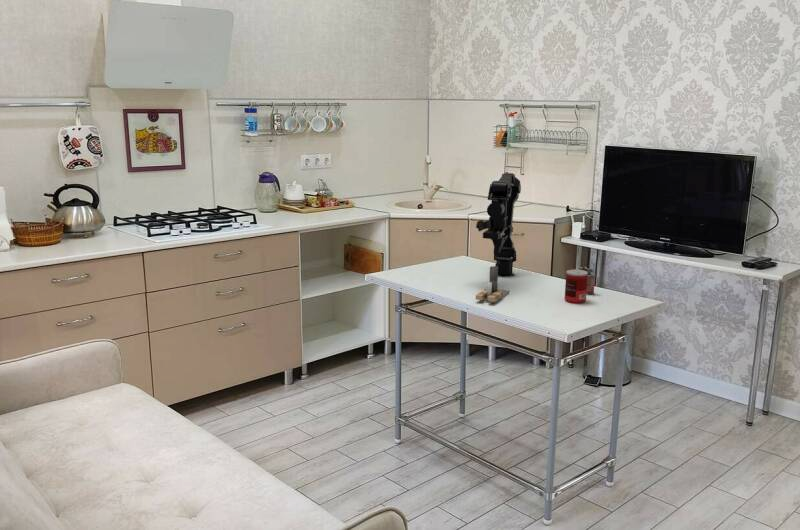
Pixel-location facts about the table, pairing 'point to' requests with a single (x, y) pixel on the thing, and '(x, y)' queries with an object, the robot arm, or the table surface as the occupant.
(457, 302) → the table surface
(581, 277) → the canned food
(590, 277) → the lighter
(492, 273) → the wooden base with post
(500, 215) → the robot arm
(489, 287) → the rail
